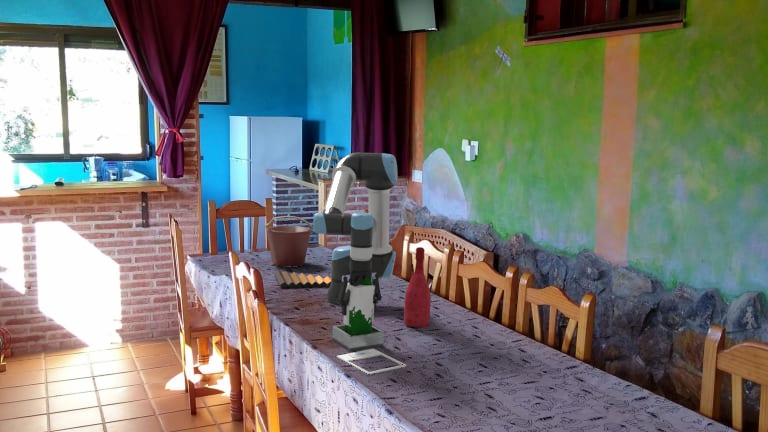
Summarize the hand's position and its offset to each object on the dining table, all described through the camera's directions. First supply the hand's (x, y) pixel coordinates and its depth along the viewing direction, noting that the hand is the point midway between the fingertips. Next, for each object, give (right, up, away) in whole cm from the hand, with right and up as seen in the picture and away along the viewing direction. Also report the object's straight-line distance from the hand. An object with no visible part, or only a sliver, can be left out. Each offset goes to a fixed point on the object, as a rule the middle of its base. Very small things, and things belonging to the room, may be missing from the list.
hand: (358, 322), depth 243 cm
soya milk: (0, -5, +1) cm, 5 cm away
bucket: (-41, +12, +124) cm, 131 cm away
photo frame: (+5, -11, -17) cm, 21 cm away
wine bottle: (+21, -5, +25) cm, 33 cm away
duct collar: (0, -7, +1) cm, 7 cm away
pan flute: (-29, +5, +88) cm, 92 cm away
